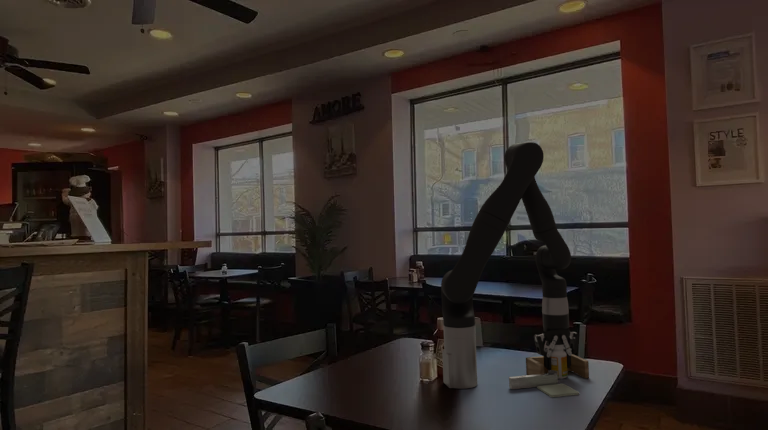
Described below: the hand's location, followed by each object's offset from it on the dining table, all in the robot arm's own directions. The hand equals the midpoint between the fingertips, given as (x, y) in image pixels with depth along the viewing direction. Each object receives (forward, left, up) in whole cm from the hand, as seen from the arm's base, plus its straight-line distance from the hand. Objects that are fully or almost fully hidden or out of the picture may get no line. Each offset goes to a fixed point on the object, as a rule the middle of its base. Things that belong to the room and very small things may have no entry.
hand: (557, 368), depth 155 cm
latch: (-11, -7, -2) cm, 14 cm away
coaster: (-7, -12, -2) cm, 15 cm away
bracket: (0, 0, -2) cm, 2 cm away
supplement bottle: (0, 0, -3) cm, 3 cm away
